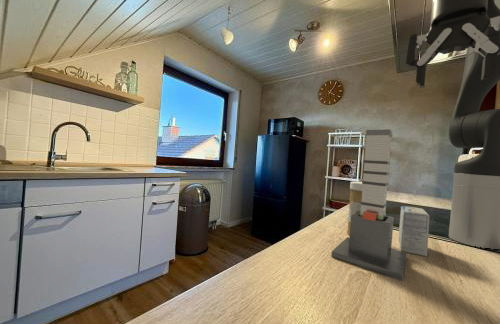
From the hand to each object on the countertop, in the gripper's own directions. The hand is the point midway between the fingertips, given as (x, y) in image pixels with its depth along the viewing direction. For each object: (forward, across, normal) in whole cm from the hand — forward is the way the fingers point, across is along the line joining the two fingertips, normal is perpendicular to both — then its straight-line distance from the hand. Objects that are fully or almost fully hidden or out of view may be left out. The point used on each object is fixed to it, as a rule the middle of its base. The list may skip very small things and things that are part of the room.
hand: (451, 83), depth 40 cm
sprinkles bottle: (+34, +15, -5) cm, 38 cm away
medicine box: (+34, +4, -6) cm, 35 cm away
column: (+27, +10, +7) cm, 29 cm away
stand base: (+34, +10, +7) cm, 36 cm away
